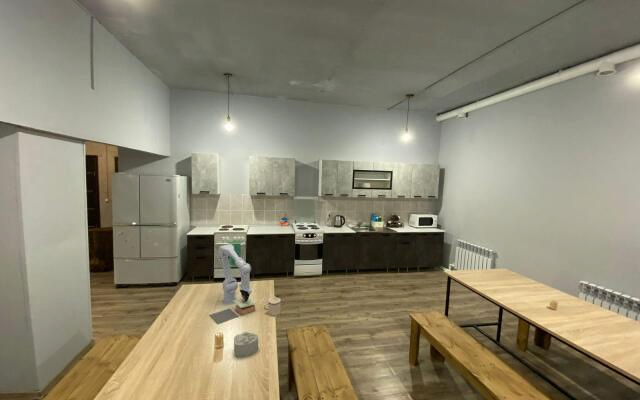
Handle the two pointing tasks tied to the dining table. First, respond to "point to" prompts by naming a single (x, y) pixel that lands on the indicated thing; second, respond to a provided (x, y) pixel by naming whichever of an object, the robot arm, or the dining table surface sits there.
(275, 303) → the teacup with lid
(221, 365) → the dining table surface
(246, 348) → the lumpy-topped squat cylinder
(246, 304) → the lid
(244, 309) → the dish
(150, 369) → the dining table surface
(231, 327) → the dining table surface
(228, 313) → the mat
